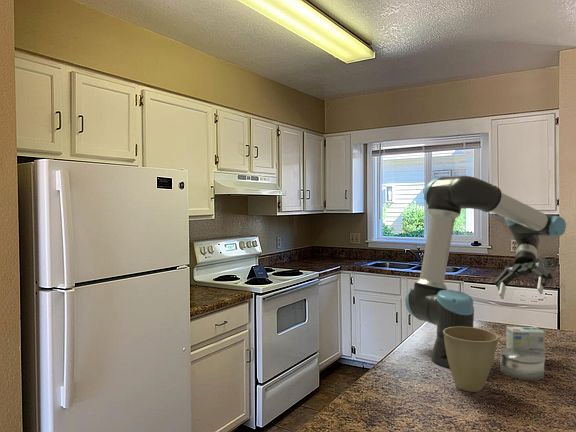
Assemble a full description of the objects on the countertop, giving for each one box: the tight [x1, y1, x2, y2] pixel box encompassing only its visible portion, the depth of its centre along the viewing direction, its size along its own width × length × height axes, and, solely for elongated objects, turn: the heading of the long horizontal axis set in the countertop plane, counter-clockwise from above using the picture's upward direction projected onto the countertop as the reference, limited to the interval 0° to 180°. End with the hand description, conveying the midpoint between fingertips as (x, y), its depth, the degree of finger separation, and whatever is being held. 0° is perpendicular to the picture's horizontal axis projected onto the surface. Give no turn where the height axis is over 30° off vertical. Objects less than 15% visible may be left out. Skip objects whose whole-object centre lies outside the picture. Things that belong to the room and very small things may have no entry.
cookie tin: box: [499, 347, 546, 381], centre depth 143 cm, size 13×13×6 cm
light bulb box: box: [505, 326, 546, 364], centre depth 154 cm, size 11×7×11 cm, turn 84°
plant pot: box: [443, 326, 499, 393], centre depth 131 cm, size 15×15×16 cm
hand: (519, 294), depth 163 cm, fingers open, 13 cm apart
